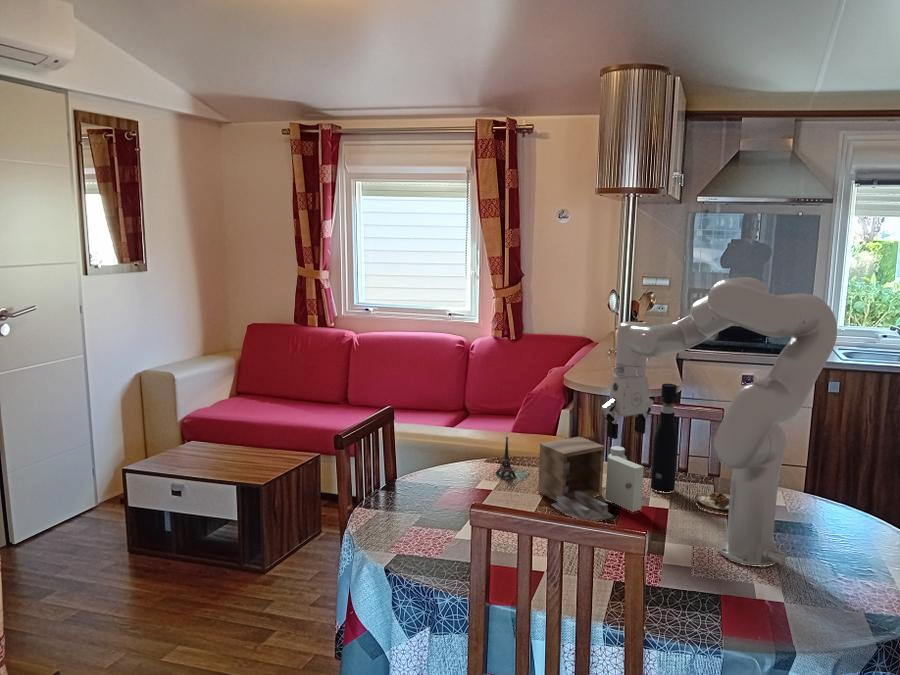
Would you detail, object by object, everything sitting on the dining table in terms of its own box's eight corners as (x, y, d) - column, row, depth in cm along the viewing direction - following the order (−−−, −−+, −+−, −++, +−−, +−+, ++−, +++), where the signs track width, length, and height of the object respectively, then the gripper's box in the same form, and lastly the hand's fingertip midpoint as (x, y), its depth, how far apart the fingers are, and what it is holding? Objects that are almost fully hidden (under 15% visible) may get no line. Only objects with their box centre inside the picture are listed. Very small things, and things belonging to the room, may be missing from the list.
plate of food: (762, 517, 185) (764, 501, 184) (711, 522, 181) (713, 506, 180) (726, 496, 199) (727, 481, 198) (678, 500, 195) (679, 486, 194)
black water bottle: (671, 486, 204) (678, 382, 199) (676, 494, 198) (683, 388, 193) (648, 485, 205) (655, 381, 200) (652, 493, 198) (659, 387, 194)
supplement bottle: (624, 484, 205) (626, 452, 203) (605, 482, 207) (606, 449, 205) (626, 478, 210) (628, 446, 208) (607, 476, 212) (609, 444, 210)
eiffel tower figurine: (511, 489, 201) (512, 443, 199) (479, 482, 206) (480, 437, 204) (533, 473, 214) (535, 430, 212) (502, 467, 219) (504, 425, 217)
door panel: (641, 511, 186) (643, 466, 184) (629, 514, 184) (632, 469, 182) (613, 498, 194) (615, 455, 193) (602, 501, 192) (604, 457, 190)
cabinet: (636, 512, 185) (640, 459, 183) (585, 525, 176) (587, 471, 174) (577, 484, 205) (579, 436, 202) (528, 495, 196) (529, 445, 193)
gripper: (615, 376, 176) (611, 443, 179) (665, 370, 185) (660, 434, 188) (594, 370, 183) (590, 435, 185) (643, 364, 191) (639, 426, 194)
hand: (626, 434), depth 187 cm, fingers open, 9 cm apart
